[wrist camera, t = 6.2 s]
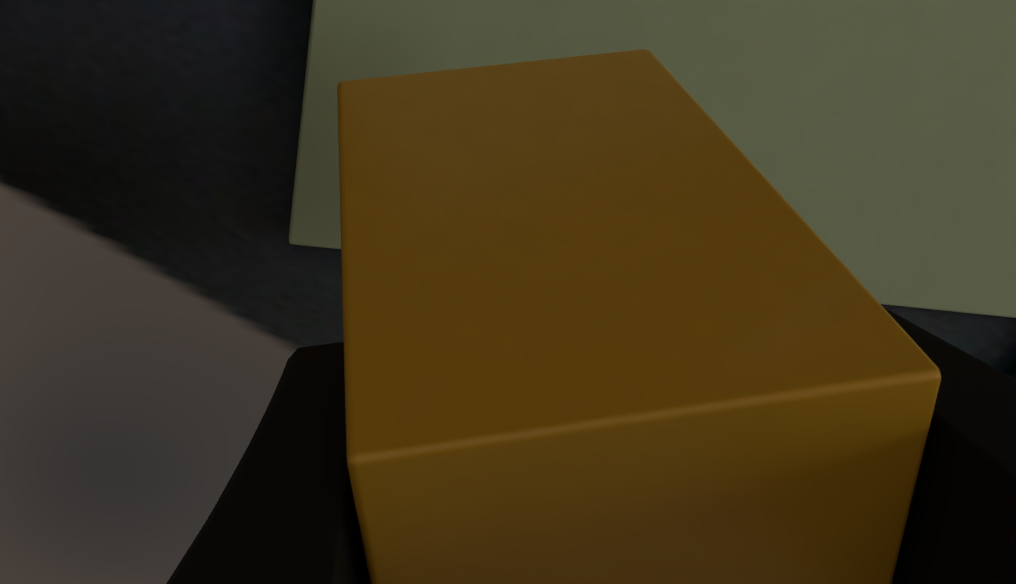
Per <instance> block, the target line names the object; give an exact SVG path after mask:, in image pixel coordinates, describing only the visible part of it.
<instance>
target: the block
mask: <svg viewBox="0 0 1016 584" xmlns="http://www.w3.org/2000/svg"><path fill="white" fill-rule="evenodd" d="M337 105H338V144H339V183H340V222H341V260H342V299H343V338H344V377H345V416H346V454H347V466H348V471H349V476H350V482H351V487H352V492H353V497H354V502H355V507H356V512H357V518H358V523H359V528H360V533H361V538H362V543H363V549H364V554H365V559H366V564H367V569H368V574H369V579H370V584H891V583H892V579H893V575H894V571H895V567H896V563H897V559H898V555H899V550H900V546H901V542H902V538H903V534H904V530H905V526H906V522H907V518H908V513H909V509H910V505H911V501H912V497H913V493H914V489H915V485H916V481H917V476H918V472H919V468H920V464H921V460H922V456H923V452H924V448H925V444H926V439H927V435H928V431H929V427H930V423H931V419H932V415H933V411H934V407H935V402H936V398H937V394H938V390H939V386H940V382H941V373H940V370H939V368H938V367H937V366H936V365H935V364H934V363H933V361H932V360H931V359H930V358H929V357H928V356H927V355H926V354H925V353H924V352H923V350H922V349H921V348H920V347H919V346H918V345H917V344H916V343H915V342H914V341H913V339H912V338H911V337H910V336H909V335H908V334H907V333H906V332H905V331H904V330H903V328H902V327H901V326H900V325H899V324H898V323H897V322H896V321H895V320H894V319H893V317H892V316H891V315H890V314H889V313H888V312H887V311H886V310H885V309H884V308H883V306H882V305H881V304H880V303H879V302H878V301H877V300H876V299H875V298H874V297H873V295H872V294H871V293H870V292H869V291H868V290H867V289H866V288H865V287H864V286H863V284H862V283H861V282H860V281H859V280H858V279H857V278H856V277H855V276H854V275H853V273H852V272H851V271H850V270H849V269H848V268H847V267H846V266H845V265H844V264H843V262H842V261H841V260H840V259H839V258H838V257H837V256H836V255H835V254H834V253H833V251H832V250H831V249H830V248H829V247H828V246H827V245H826V244H825V243H824V242H823V240H822V239H821V238H820V237H819V236H818V235H817V234H816V233H815V232H814V231H813V229H812V228H811V227H810V226H809V225H808V224H807V223H806V222H805V221H804V220H803V218H802V217H801V216H800V215H799V214H798V213H797V212H796V211H795V210H794V209H793V207H792V206H791V205H790V204H789V203H788V202H787V201H786V200H785V199H784V198H783V196H782V195H781V194H780V193H779V192H778V191H777V190H776V189H775V188H774V187H773V185H772V184H771V183H770V182H769V181H768V180H767V179H766V178H765V177H764V176H763V174H762V173H761V172H760V171H759V170H758V169H757V168H756V167H755V166H754V165H753V163H752V162H751V161H750V160H749V159H748V158H747V157H746V156H745V155H744V154H743V152H742V151H741V150H740V149H739V148H738V147H737V146H736V145H735V144H734V143H733V141H732V140H731V139H730V138H729V137H728V136H727V135H726V134H725V133H724V132H723V130H722V129H721V128H720V127H719V126H718V125H717V124H716V123H715V122H714V121H713V119H712V118H711V117H710V116H709V115H708V114H707V113H706V112H705V111H704V110H703V108H702V107H701V106H700V105H699V104H698V103H697V102H696V101H695V100H694V99H693V97H692V96H691V95H690V94H689V93H688V92H687V91H686V90H685V89H684V88H683V86H682V85H681V84H680V83H679V82H678V81H677V80H676V79H675V78H674V77H673V75H672V74H671V73H670V72H669V71H668V70H667V69H666V68H665V67H664V65H663V64H662V63H661V62H660V61H659V60H658V59H657V58H656V57H655V56H654V54H653V53H652V52H651V51H650V50H647V49H641V50H632V51H622V52H613V53H603V54H594V55H584V56H575V57H566V58H556V59H547V60H537V61H528V62H518V63H509V64H500V65H490V66H481V67H471V68H462V69H453V70H443V71H434V72H424V73H415V74H405V75H396V76H387V77H377V78H368V79H358V80H349V81H341V82H339V83H338V86H337Z"/></svg>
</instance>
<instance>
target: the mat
mask: <svg viewBox="0 0 1016 584" xmlns="http://www.w3.org/2000/svg"><path fill="white" fill-rule="evenodd" d="M641 49H647V50H650V51H651V52H652V53H653V54H654V56H655V57H656V58H657V59H658V60H659V61H660V62H661V63H662V64H663V65H664V67H665V68H666V69H667V70H668V71H669V72H670V73H671V74H672V75H673V77H674V78H675V79H676V80H677V81H678V82H679V83H680V84H681V85H682V86H683V88H684V89H685V90H686V91H687V92H688V93H689V94H690V95H691V96H692V97H693V99H694V100H695V101H696V102H697V103H698V104H699V105H700V106H701V107H702V108H703V110H704V111H705V112H706V113H707V114H708V115H709V116H710V117H711V118H712V119H713V121H714V122H715V123H716V124H717V125H718V126H719V127H720V128H721V129H722V130H723V132H724V133H725V134H726V135H727V136H728V137H729V138H730V139H731V140H732V141H733V143H734V144H735V145H736V146H737V147H738V148H739V149H740V150H741V151H742V152H743V154H744V155H745V156H746V157H747V158H748V159H749V160H750V161H751V162H752V163H753V165H754V166H755V167H756V168H757V169H758V170H759V171H760V172H761V173H762V174H763V176H764V177H765V178H766V179H767V180H768V181H769V182H770V183H771V184H772V185H773V187H774V188H775V189H776V190H777V191H778V192H779V193H780V194H781V195H782V196H783V198H784V199H785V200H786V201H787V202H788V203H789V204H790V205H791V206H792V207H793V209H794V210H795V211H796V212H797V213H798V214H799V215H800V216H801V217H802V218H803V220H804V221H805V222H806V223H807V224H808V225H809V226H810V227H811V228H812V229H813V231H814V232H815V233H816V234H817V235H818V236H819V237H820V238H821V239H822V240H823V242H824V243H825V244H826V245H827V246H828V247H829V248H830V249H831V250H832V251H833V253H834V254H835V255H836V256H837V257H838V258H839V259H840V260H841V261H842V262H843V264H844V265H845V266H846V267H847V268H848V269H849V270H850V271H851V272H852V273H853V275H854V276H855V277H856V278H857V279H858V280H859V281H860V282H861V283H862V284H863V286H864V287H865V288H866V289H867V290H868V291H869V292H870V293H871V294H872V295H873V297H874V298H875V299H876V300H877V301H878V302H879V303H880V304H885V305H895V306H905V307H915V308H925V309H935V310H944V311H954V312H964V313H974V314H984V315H994V316H1003V317H1013V318H1016V0H313V5H312V15H311V25H310V34H309V44H308V54H307V64H306V73H305V83H304V93H303V102H302V112H301V122H300V132H299V141H298V151H297V161H296V170H295V180H294V190H293V199H292V209H291V219H290V229H289V243H290V244H295V245H304V246H314V247H324V248H334V249H341V222H340V183H339V144H338V105H337V86H338V83H339V82H341V81H349V80H358V79H368V78H377V77H387V76H396V75H405V74H415V73H424V72H434V71H443V70H453V69H462V68H471V67H481V66H490V65H500V64H509V63H518V62H528V61H537V60H547V59H556V58H566V57H575V56H584V55H594V54H603V53H613V52H622V51H632V50H641Z"/></svg>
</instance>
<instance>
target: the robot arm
mask: <svg viewBox="0 0 1016 584" xmlns="http://www.w3.org/2000/svg"><path fill="white" fill-rule="evenodd" d="M883 308H884V307H883ZM884 309H885V310H886V311H887V312H888V313H889V314H890V315H891V316H892V317H893V319H894V320H895V321H896V322H897V323H898V324H899V325H900V326H901V327H902V328H903V330H904V331H905V332H906V333H907V334H908V335H909V336H910V337H911V338H912V339H913V341H914V342H915V343H916V344H917V345H918V346H919V347H920V348H921V349H922V350H923V352H924V353H925V354H926V355H927V356H928V357H929V358H930V359H931V360H932V361H933V363H934V364H935V365H936V366H937V367H938V368H939V370H940V373H941V382H940V386H939V390H938V394H937V398H936V402H935V407H934V411H933V415H932V419H931V423H930V427H929V431H928V435H927V439H926V444H925V448H924V452H923V456H922V460H921V464H920V468H919V472H918V476H917V481H916V485H915V489H914V493H913V497H912V501H911V505H910V509H909V513H908V518H907V522H906V526H905V530H904V534H903V538H902V542H901V546H900V550H899V555H898V559H897V563H896V567H895V571H894V575H893V579H892V583H891V584H1016V379H1014V378H1012V377H1010V376H1009V375H1007V374H1005V373H1003V372H1001V371H999V370H997V369H995V368H994V367H992V366H990V365H988V364H986V363H984V362H982V361H980V360H979V359H977V358H975V357H973V356H971V355H969V354H968V353H966V352H964V351H962V350H960V349H958V348H957V347H955V346H953V345H951V344H949V343H947V342H946V341H944V340H942V339H940V338H938V337H936V336H935V335H933V334H931V333H929V332H927V331H926V330H924V329H922V328H920V327H918V326H916V325H915V324H913V323H911V322H909V321H907V320H906V319H904V318H902V317H900V316H898V315H897V314H895V313H893V312H891V311H889V310H887V309H886V308H884ZM167 584H370V579H369V574H368V569H367V564H366V559H365V554H364V549H363V543H362V538H361V533H360V528H359V523H358V518H357V512H356V507H355V502H354V497H353V492H352V487H351V482H350V476H349V471H348V466H347V454H346V416H345V377H344V342H340V343H332V344H325V345H318V346H310V347H303V348H298V349H297V350H296V351H295V352H294V353H293V354H292V356H291V357H290V358H289V359H288V361H287V363H286V366H285V368H284V371H283V374H282V376H281V379H280V381H279V383H278V385H277V388H276V390H275V392H274V394H273V397H272V399H271V401H270V403H269V406H268V407H267V409H266V412H265V414H264V416H263V418H262V420H261V422H260V424H259V426H258V428H257V430H256V432H255V434H254V436H253V438H252V440H251V442H250V444H249V446H248V448H247V449H246V451H245V453H244V455H243V457H242V459H241V460H240V462H239V464H238V466H237V468H236V469H235V471H234V473H233V475H232V477H231V479H230V480H229V482H228V484H227V486H226V488H225V489H224V491H223V493H222V495H221V497H220V498H219V500H218V502H217V504H216V505H215V507H214V509H213V511H212V512H211V514H210V516H209V517H208V519H207V521H206V522H205V524H204V525H203V527H202V529H201V530H200V532H199V534H198V535H197V536H196V538H195V540H194V541H193V543H192V544H191V546H190V548H189V549H188V551H187V552H186V554H185V555H184V557H183V558H182V560H181V562H180V563H179V565H178V566H177V568H176V570H175V571H174V573H173V574H172V576H171V577H170V579H169V580H168V582H167Z"/></svg>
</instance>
